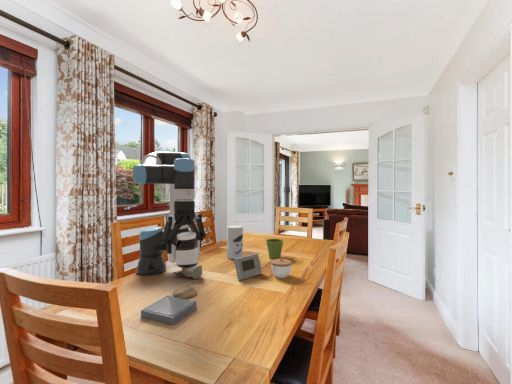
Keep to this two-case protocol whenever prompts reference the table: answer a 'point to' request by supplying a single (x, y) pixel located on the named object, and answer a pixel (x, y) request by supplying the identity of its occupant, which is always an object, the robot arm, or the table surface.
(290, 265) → the lidded jar
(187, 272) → the ceramic sculpture
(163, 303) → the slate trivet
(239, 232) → the container
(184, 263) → the spread jar
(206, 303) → the table surface
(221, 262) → the table surface
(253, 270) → the digital clock
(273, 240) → the plant pot
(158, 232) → the robot arm
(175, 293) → the oak coaster
